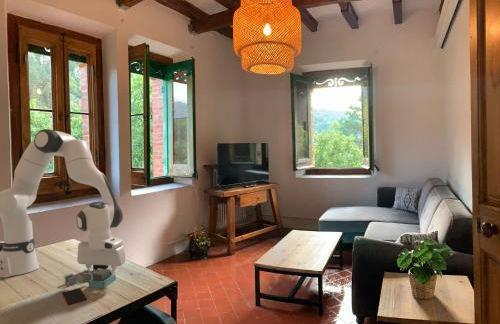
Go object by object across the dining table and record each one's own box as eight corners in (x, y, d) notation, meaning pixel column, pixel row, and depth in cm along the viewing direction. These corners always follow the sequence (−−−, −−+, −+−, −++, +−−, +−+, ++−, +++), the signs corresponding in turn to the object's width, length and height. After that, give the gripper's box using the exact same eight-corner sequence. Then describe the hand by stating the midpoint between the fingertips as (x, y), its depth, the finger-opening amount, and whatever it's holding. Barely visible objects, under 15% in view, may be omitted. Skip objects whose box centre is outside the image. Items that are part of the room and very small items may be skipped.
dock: (88, 287, 142) (88, 281, 142) (101, 279, 150) (101, 273, 150) (103, 288, 140) (103, 282, 140) (115, 280, 148) (115, 274, 148)
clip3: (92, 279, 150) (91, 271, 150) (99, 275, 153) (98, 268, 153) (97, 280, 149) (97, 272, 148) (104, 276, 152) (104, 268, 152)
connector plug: (93, 285, 142) (92, 274, 142) (108, 275, 152) (107, 265, 152) (102, 285, 142) (101, 274, 141) (116, 276, 151) (115, 265, 151)
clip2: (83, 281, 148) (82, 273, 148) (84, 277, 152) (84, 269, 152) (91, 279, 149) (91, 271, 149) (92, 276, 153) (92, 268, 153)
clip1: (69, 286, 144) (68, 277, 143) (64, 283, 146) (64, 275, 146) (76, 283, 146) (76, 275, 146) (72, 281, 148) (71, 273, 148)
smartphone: (67, 305, 126) (61, 292, 137) (67, 307, 126) (61, 294, 137) (88, 299, 130) (80, 287, 141) (88, 301, 130) (80, 288, 141)
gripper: (72, 243, 143) (74, 276, 144) (117, 245, 139) (119, 279, 140) (83, 238, 149) (85, 270, 150) (126, 240, 145) (128, 273, 146)
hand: (102, 274), depth 145 cm, fingers open, 8 cm apart
